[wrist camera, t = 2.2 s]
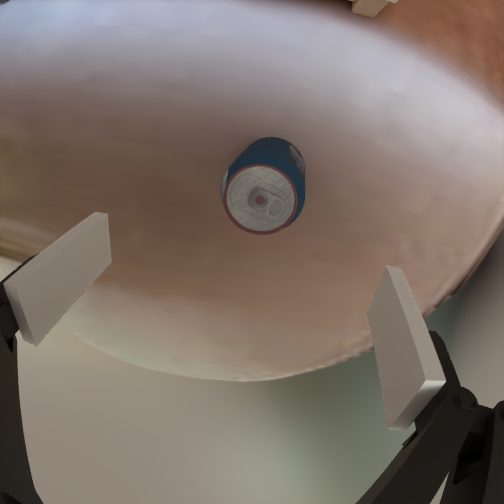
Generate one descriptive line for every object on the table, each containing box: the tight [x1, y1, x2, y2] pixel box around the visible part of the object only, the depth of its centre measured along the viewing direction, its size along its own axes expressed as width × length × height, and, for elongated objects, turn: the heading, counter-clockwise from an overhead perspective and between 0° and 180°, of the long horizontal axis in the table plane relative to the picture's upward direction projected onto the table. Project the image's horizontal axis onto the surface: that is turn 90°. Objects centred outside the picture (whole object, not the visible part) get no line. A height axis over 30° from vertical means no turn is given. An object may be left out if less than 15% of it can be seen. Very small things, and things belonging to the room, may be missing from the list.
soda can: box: [221, 137, 305, 235], centre depth 30 cm, size 7×7×12 cm
